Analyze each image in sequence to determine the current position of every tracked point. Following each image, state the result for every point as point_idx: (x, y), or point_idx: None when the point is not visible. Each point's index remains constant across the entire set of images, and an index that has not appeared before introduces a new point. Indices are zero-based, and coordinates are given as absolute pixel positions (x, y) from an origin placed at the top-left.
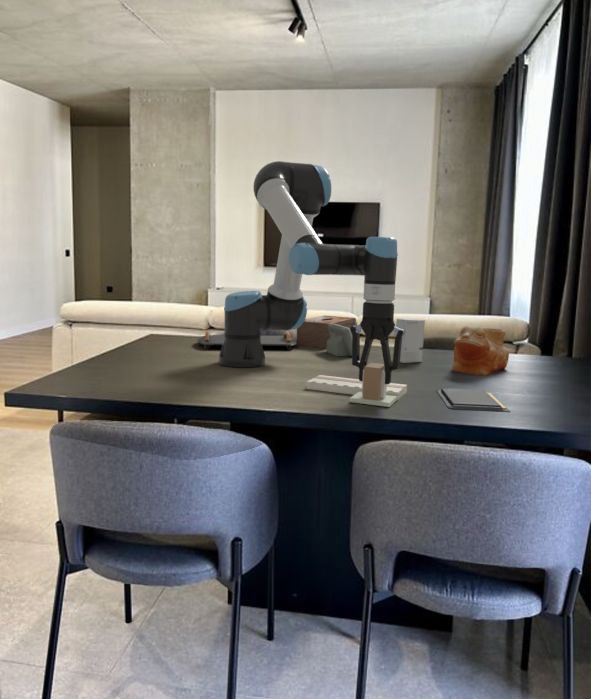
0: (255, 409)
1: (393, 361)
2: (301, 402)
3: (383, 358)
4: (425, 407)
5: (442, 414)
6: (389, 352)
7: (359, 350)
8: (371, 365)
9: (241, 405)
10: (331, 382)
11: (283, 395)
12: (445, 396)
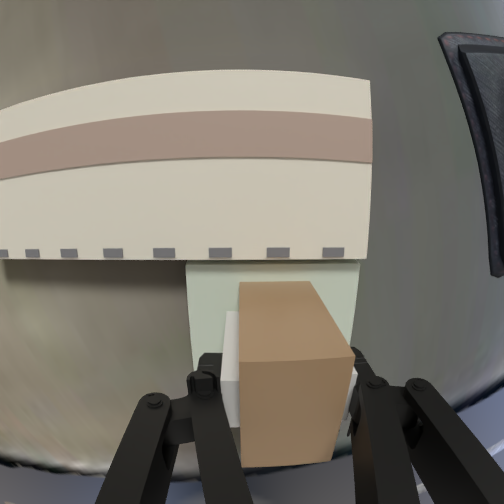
0: (64, 467)
1: (408, 450)
2: (84, 410)
3: (355, 471)
4: (441, 297)
5: (470, 341)
6: (404, 458)
7: (152, 467)
8: (269, 433)
9: (29, 449)
10: (43, 221)
11: (12, 358)
12: (484, 134)
